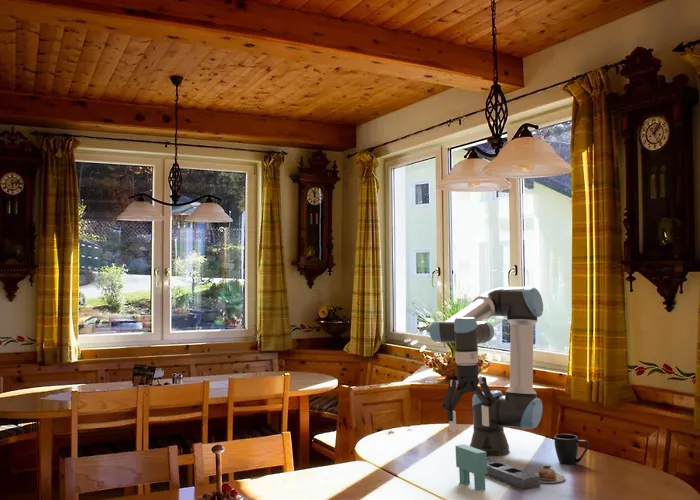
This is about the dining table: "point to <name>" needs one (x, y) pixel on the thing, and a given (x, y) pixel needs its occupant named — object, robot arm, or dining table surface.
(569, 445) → the mug
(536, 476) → the rail
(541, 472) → the pastry
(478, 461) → the clip
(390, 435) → the dining table surface
